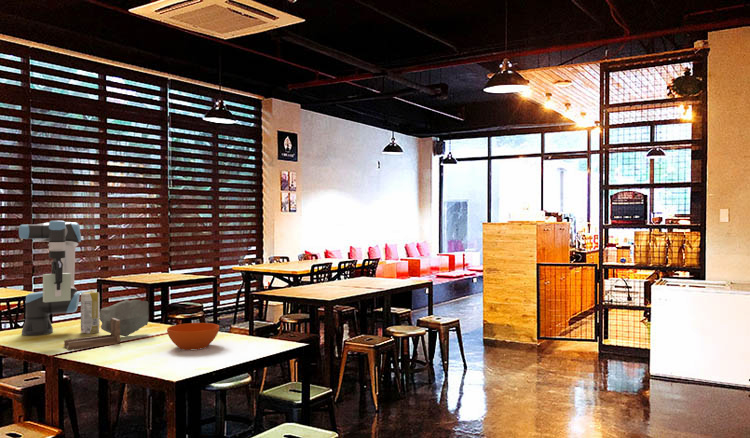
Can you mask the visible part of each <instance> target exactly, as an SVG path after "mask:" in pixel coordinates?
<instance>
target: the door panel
mask: <svg viewBox="0 0 750 438" xmlns="http://www.w3.org/2000/svg"><path fill="white" fill-rule="evenodd" d="M55 282H56V279H55V274H52V273H45V274H44V273H43V274H42V291H43V302H57V301H70V300H71V273H62V283H61V296H57V297H55V284H54V283H55Z"/></svg>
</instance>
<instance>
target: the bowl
mask: <svg viewBox="0 0 750 438" xmlns="http://www.w3.org/2000/svg"><path fill="white" fill-rule="evenodd" d="M166 330H167V331H166V332H167V334H168V337H169V339H170V340H171V342H172V343H173V344H174V345H175V346H176V347H178V349H179V350H182V349H184V351H192V350H191V349H197V350H201V349H200V348H203V349H206V348H208V347H209V345H210V344H212V343H213V341H214V340H215V339H216V337H217V335H218V333H219V331H220V325H219V324H216V323H210V322H193V323H192V322H191V323H190V322H189V323H181V324H175V325H171V326H169V327H167V328H166ZM207 346H208V347H207ZM205 347H206V348H205Z"/></svg>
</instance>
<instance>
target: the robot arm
mask: <svg viewBox="0 0 750 438" xmlns="http://www.w3.org/2000/svg"><path fill="white" fill-rule="evenodd" d="M18 236H19V239H22V240H24V239H25V240H37V241H42V242H48V244H47V246H48V250H49V251H48V259H52V262H51V263H50V265H51V274H55V279H56V282H55V283H54V284H55V297H57V296H61V283H62V273H71V300H70V301H57V302H43V290H41V291H34V292H31V293H28V294H27V295H26V296H25V321H24V323H23V327H22V328H21V335H22V336H42V335H48V334H51V333H53V332H54V328H53V325H52V322H51V319H50V315H54V314H55V315H56V314H69V313H70V314H71V313H72V314H73V313H75V312H77V310H78V308H79V307H78V306H79V303H80V297H81V293H80V292H79V291H78V289H77V288H76V287H75V274H76V273H75V268H76V267H75V265H76V264H75V263H76V247H78V246H79V243H81V242H82V234H81V228H80V224H79V223H78V222H71V221H64V220H50V221H49V222H43V223H37V224H28V223H27V224H20V225H19V227H18Z"/></svg>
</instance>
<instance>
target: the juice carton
mask: <svg viewBox="0 0 750 438" xmlns="http://www.w3.org/2000/svg"><path fill="white" fill-rule="evenodd" d="M100 298H101V297H100V292H99V291H98V292H96V290H95V289H91V290H89V291H84V292H83V291H82V292H81V293H80V333H83V334H87V335H90V334H91V335H92V334H95V333H99V332H100V311H101V308H100V306H101V305H100V304H101V303H100V301H101V300H100Z"/></svg>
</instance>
